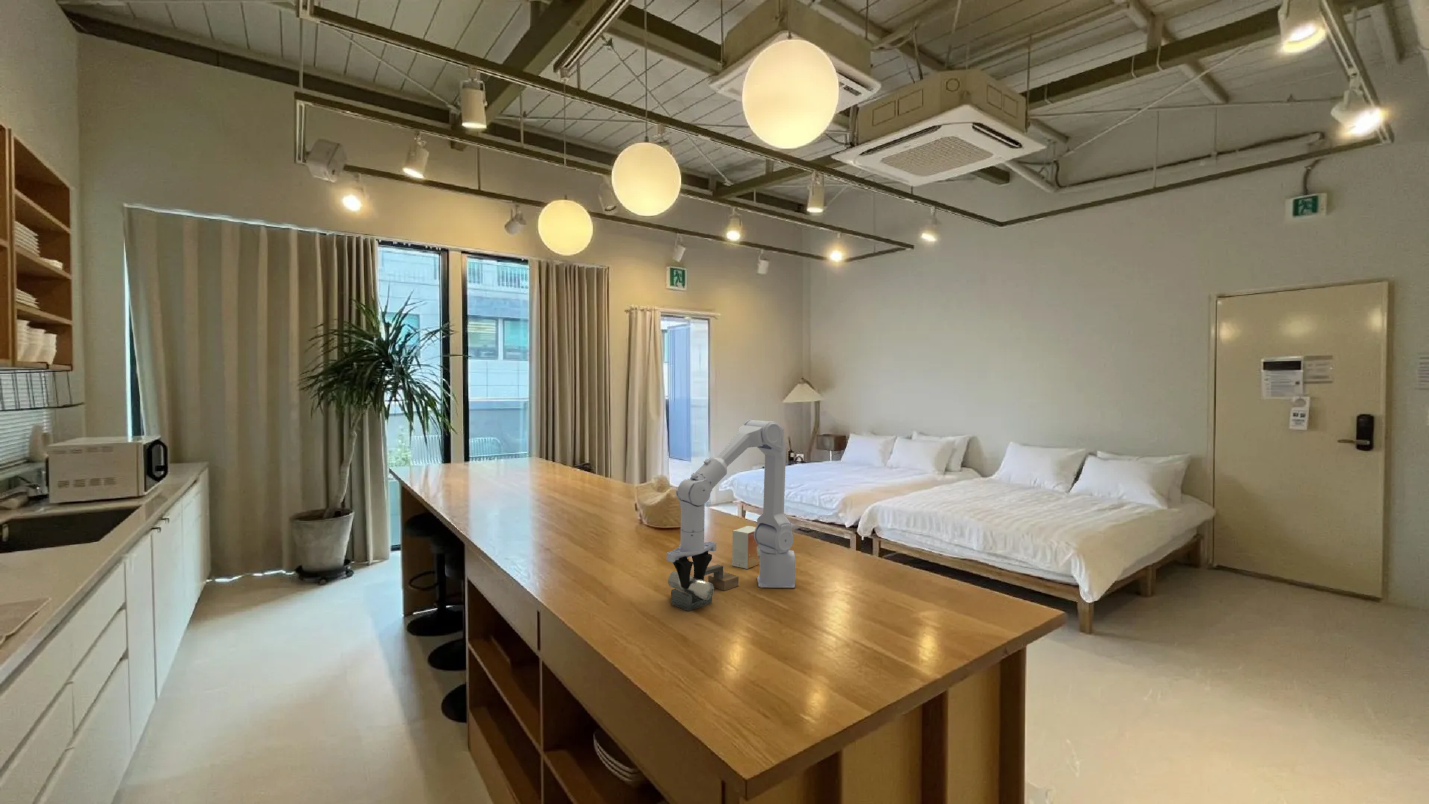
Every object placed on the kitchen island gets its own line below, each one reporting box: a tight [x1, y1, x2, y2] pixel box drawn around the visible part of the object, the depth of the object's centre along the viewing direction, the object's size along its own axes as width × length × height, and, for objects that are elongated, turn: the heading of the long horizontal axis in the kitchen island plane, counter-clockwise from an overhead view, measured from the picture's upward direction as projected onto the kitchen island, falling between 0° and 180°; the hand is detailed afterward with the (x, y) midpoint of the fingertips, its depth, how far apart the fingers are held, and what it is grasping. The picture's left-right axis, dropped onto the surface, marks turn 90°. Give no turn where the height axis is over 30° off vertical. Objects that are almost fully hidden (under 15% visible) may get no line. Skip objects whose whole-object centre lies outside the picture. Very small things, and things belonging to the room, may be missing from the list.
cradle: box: [670, 588, 713, 612], centre depth 143 cm, size 6×8×4 cm
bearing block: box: [703, 564, 740, 592], centre depth 154 cm, size 6×12×6 cm, turn 135°
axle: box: [667, 570, 715, 600], centre depth 143 cm, size 12×4×4 cm, turn 45°
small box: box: [731, 525, 760, 570], centre depth 174 cm, size 8×6×10 cm
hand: (691, 585), depth 143 cm, fingers closed on axle, 4 cm apart
